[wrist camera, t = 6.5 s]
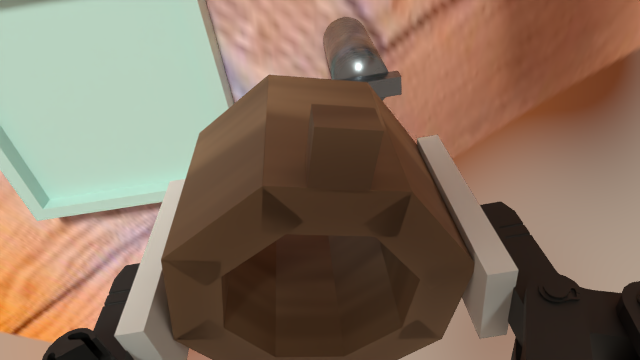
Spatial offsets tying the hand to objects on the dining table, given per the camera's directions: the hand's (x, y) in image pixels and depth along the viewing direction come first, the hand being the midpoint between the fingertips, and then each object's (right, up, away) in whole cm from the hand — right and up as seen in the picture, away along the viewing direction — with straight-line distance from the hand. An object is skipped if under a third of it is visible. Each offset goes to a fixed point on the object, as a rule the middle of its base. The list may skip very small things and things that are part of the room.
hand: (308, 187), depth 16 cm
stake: (+2, +10, +12) cm, 16 cm away
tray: (-15, +6, +13) cm, 21 cm away
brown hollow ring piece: (0, 0, 0) cm, 0 cm away
